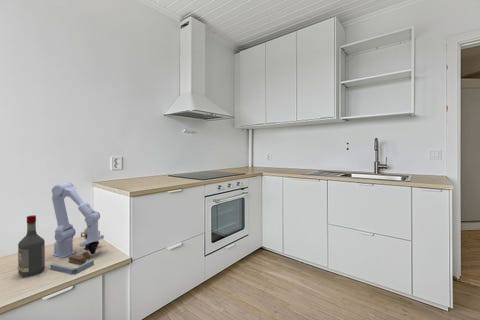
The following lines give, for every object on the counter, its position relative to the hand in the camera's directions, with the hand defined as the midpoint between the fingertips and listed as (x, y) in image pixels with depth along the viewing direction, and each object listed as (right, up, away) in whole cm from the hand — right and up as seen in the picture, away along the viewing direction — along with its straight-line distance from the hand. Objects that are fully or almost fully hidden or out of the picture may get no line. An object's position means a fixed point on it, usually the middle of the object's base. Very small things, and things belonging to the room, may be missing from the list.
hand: (92, 253), depth 142 cm
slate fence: (-2, -1, -14) cm, 14 cm away
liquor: (-19, -2, -21) cm, 28 cm away
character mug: (-8, -1, +11) cm, 14 cm away
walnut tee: (-2, -1, -7) cm, 7 cm away
